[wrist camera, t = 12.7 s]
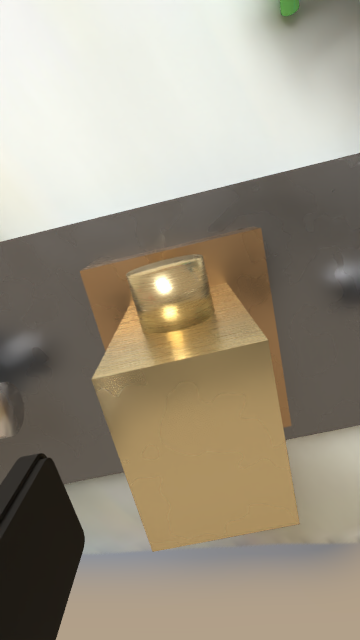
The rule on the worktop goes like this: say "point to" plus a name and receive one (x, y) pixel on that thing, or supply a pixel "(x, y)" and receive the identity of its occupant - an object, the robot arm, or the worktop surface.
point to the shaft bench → (296, 289)
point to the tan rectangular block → (195, 410)
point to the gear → (289, 7)
